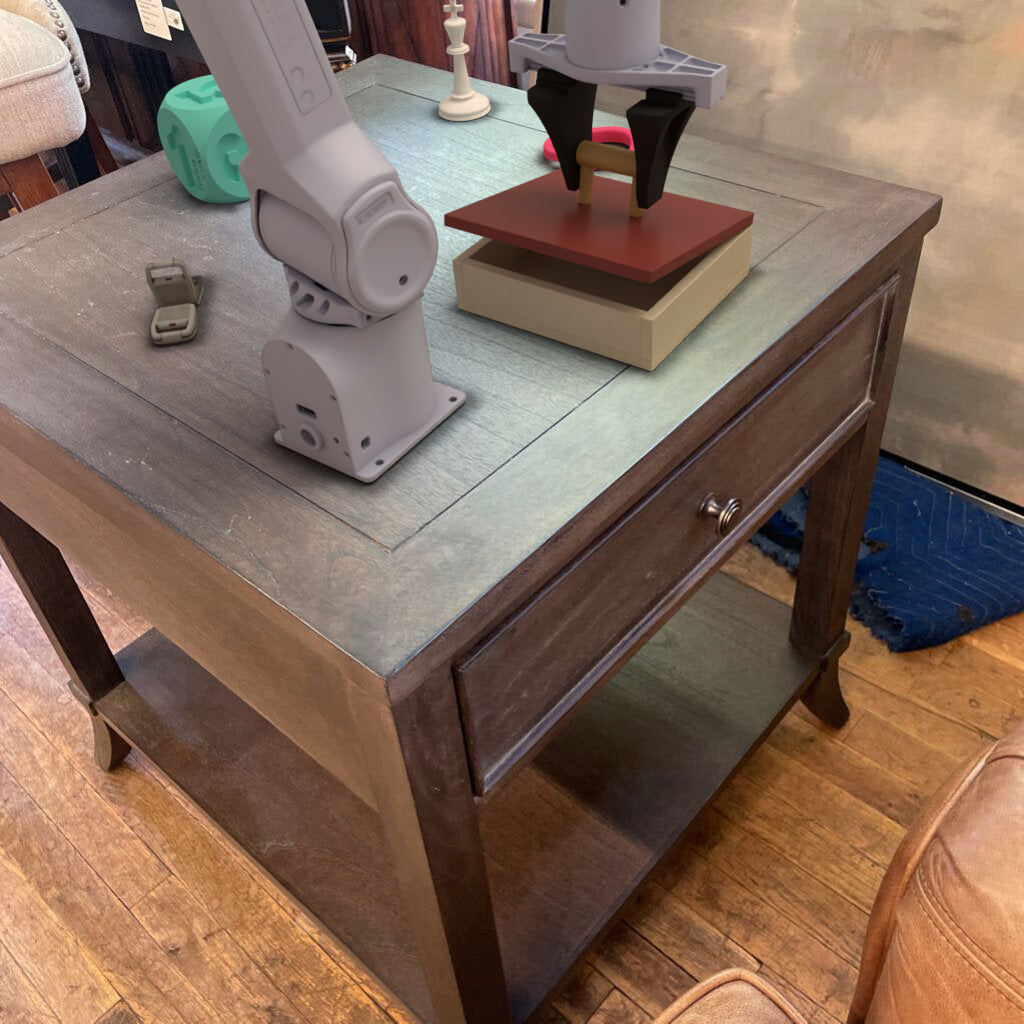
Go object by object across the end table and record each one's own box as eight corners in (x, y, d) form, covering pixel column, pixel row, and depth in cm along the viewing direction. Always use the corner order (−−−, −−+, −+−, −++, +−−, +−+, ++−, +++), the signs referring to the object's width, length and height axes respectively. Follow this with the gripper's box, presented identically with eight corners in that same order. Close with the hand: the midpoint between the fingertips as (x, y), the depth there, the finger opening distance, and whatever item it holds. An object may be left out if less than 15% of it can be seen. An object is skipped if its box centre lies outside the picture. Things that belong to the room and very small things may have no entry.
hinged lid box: (651, 372, 68) (652, 320, 65) (457, 308, 75) (451, 260, 73) (749, 273, 76) (753, 224, 73) (564, 224, 83) (562, 178, 80)
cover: (649, 284, 63) (658, 202, 61) (443, 226, 71) (443, 150, 68) (752, 223, 73) (764, 150, 70) (562, 178, 80) (565, 110, 78)
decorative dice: (173, 185, 94) (145, 94, 88) (252, 154, 97) (229, 64, 92) (218, 213, 89) (191, 119, 84) (299, 180, 93) (278, 87, 87)
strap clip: (195, 342, 75) (178, 289, 72) (152, 348, 75) (133, 295, 72) (206, 280, 81) (190, 229, 78) (166, 285, 81) (148, 234, 78)
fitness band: (545, 174, 90) (544, 157, 89) (542, 145, 94) (541, 128, 93) (642, 166, 89) (642, 149, 88) (635, 137, 94) (635, 120, 92)
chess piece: (484, 121, 99) (473, 7, 92) (432, 121, 100) (417, 8, 93) (495, 100, 102) (485, -12, 95) (445, 99, 103) (432, -11, 96)
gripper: (756, -31, 62) (740, 191, 71) (548, -56, 68) (557, 149, 78) (697, 7, 57) (688, 237, 67) (481, -24, 64) (500, 189, 73)
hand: (614, 193), depth 72 cm, fingers closed on cover, 5 cm apart
